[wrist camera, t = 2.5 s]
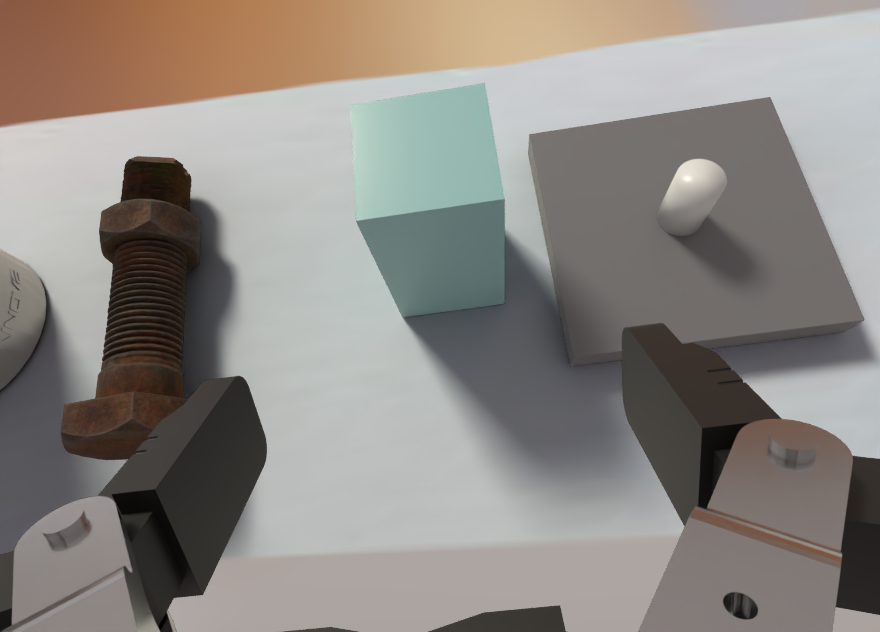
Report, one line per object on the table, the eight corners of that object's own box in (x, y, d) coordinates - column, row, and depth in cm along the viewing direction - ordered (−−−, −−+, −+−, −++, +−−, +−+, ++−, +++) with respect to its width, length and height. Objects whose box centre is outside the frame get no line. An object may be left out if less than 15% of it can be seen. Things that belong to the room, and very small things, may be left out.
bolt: (207, 206, 33) (199, 457, 27) (110, 196, 31) (77, 465, 24) (211, 139, 28) (202, 426, 22) (97, 121, 26) (51, 433, 20)
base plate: (570, 366, 25) (583, 333, 20) (528, 153, 29) (532, 90, 25) (843, 332, 24) (915, 290, 20) (757, 118, 28) (800, 47, 24)
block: (402, 317, 26) (355, 220, 18) (395, 229, 28) (350, 104, 20) (504, 303, 26) (504, 198, 18) (490, 215, 28) (484, 83, 20)
